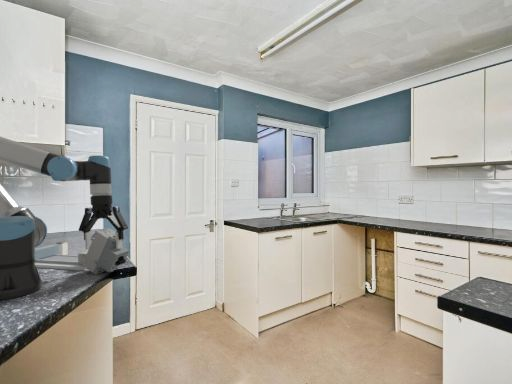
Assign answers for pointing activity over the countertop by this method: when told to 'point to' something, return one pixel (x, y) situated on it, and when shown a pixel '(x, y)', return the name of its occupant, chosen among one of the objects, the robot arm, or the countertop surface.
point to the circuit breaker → (104, 252)
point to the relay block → (62, 247)
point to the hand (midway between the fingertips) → (104, 248)
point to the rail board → (57, 259)
